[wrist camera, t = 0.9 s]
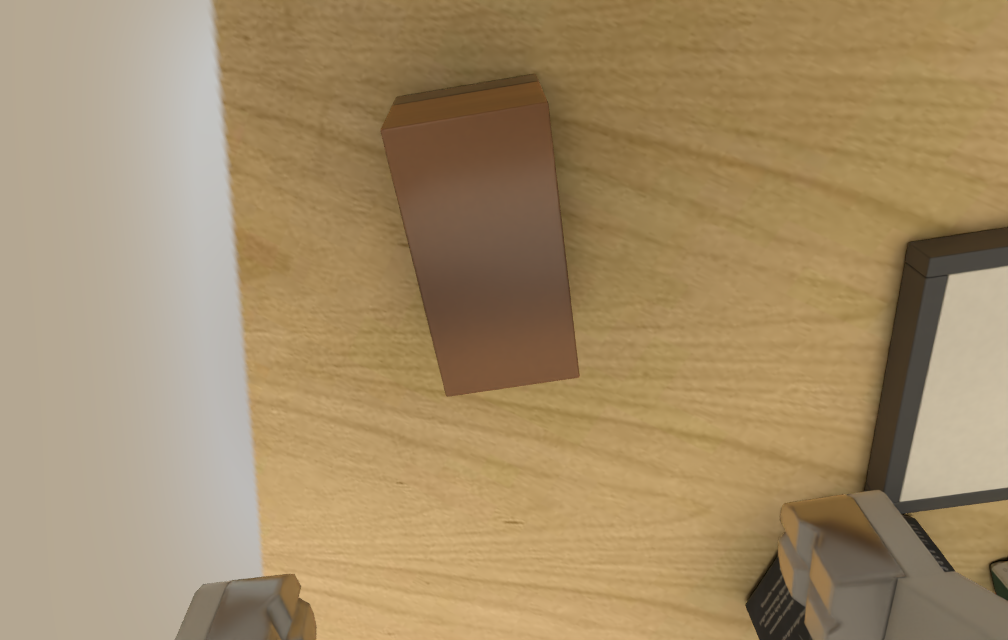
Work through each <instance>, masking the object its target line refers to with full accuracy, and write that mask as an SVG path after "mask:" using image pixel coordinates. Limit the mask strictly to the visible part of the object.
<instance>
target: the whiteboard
mask: <svg viewBox="0 0 1008 640" xmlns="http://www.w3.org/2000/svg"><path fill="white" fill-rule="evenodd" d="M905 261H906V263H905V266H904V272H903V277H902V283H901V289H900V294H899V300H898V306H897V311H896V317H895V322H894V328H893V334H892V339H891V345H890V351H889V356H888V362H887V367H886V373H885V379H884V384H883V390H882V396H881V401H880V407H879V413H878V418H877V424H876V429H875V435H874V441H873V446H872V452H871V458H870V463H869V469H868V474H867V480H866V482H867V483H866V485H865V491H864V492H866V491H873V490H880V491H882V492H883V493H885V494H886V495H887V496H888V498H889V499H890V500H891V502H892V503H893V504H894V506H895V507H896V508H897V510H898V511H899V512H900V513H901V514H904V513H912V512H919V511H927V510H934V509H942V508H949V507H957V506H964V505H972V504H979V503H987V502H994V501H1002V500H1008V227H1007V228H1001V229H994V230H988V231H981V232H975V233H968V234H961V235H955V236H948V237H942V238H935V239H928V240H922V241H915V242H909V243H908V248H907V253H906V259H905Z"/></svg>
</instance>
